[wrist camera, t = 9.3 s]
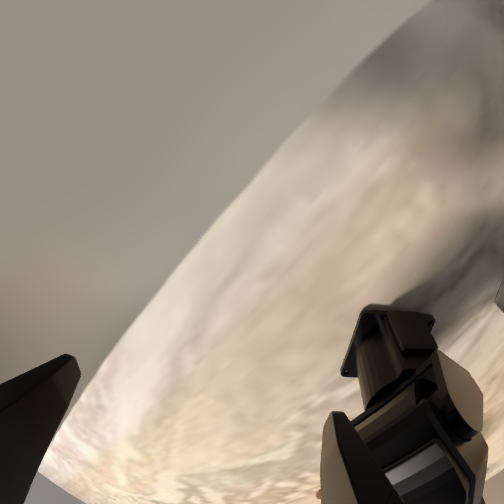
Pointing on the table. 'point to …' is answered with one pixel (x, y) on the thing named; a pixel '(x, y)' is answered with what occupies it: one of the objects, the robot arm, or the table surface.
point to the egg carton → (500, 297)
